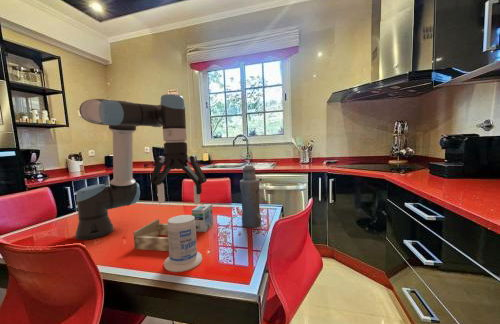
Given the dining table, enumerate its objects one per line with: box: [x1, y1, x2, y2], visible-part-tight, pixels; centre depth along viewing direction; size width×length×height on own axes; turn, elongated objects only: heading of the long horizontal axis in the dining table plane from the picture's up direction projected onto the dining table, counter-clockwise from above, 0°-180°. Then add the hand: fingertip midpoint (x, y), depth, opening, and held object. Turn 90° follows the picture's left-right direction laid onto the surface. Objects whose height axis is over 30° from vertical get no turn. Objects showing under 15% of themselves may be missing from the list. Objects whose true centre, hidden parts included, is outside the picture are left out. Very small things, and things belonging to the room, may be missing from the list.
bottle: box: [239, 164, 262, 228], centre depth 111 cm, size 10×10×30 cm
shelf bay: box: [132, 218, 169, 252], centre depth 96 cm, size 18×15×7 cm
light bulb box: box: [191, 203, 214, 233], centre depth 110 cm, size 11×7×11 cm, turn 168°
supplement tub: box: [166, 214, 198, 265], centre depth 79 cm, size 10×10×15 cm
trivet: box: [163, 251, 203, 273], centre depth 79 cm, size 13×13×1 cm
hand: (179, 203), depth 77 cm, fingers open, 13 cm apart
